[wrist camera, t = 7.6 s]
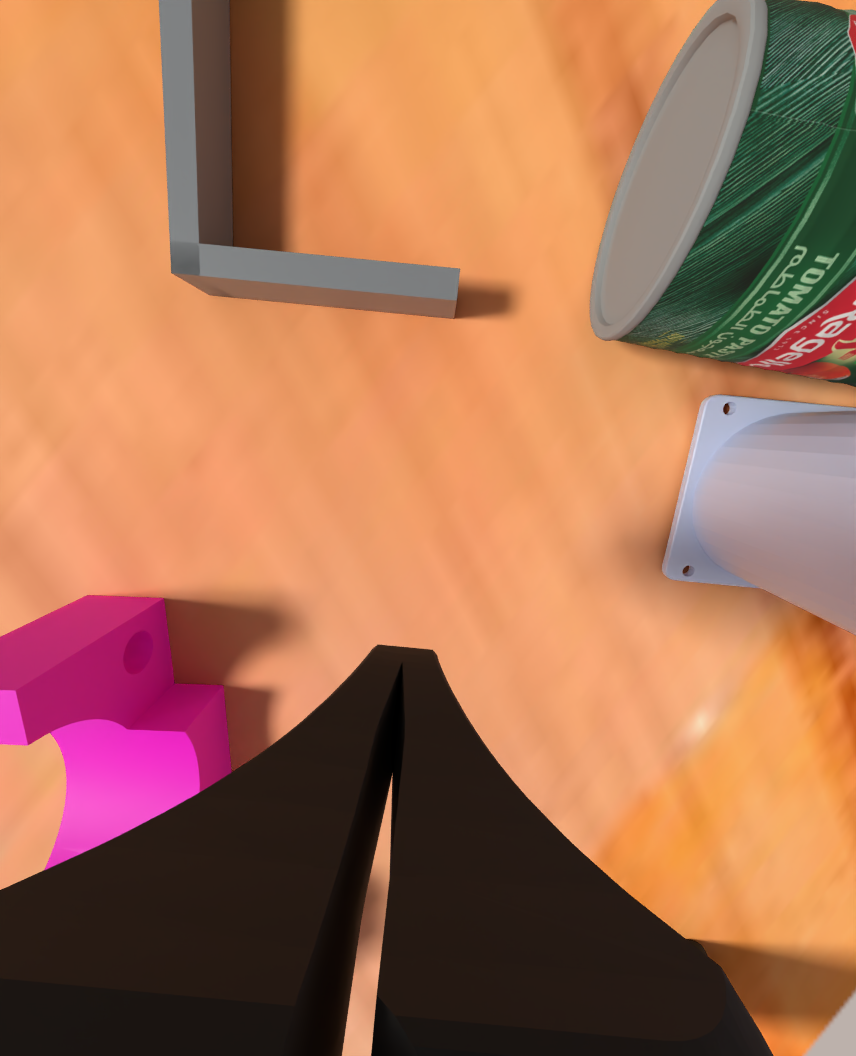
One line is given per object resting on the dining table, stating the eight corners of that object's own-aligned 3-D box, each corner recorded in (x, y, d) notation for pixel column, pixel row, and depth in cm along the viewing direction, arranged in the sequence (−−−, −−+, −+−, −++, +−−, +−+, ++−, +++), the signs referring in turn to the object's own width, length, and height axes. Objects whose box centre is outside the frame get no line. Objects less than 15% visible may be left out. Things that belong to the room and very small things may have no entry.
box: (499, -143, 14) (513, -266, 11) (453, 318, 17) (456, 300, 15) (196, -174, 14) (145, -303, 11) (209, 295, 17) (171, 272, 15)
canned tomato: (676, 303, 10) (1128, 389, 10) (811, -158, 8) (1367, -38, 8) (570, 356, 17) (826, 403, 18) (625, 131, 15) (911, 187, 16)
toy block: (240, 843, 24) (153, 1025, 17) (132, 838, 24) (-1, 1017, 17) (217, 598, 20) (93, 694, 13) (90, 593, 20) (-102, 685, 13)
